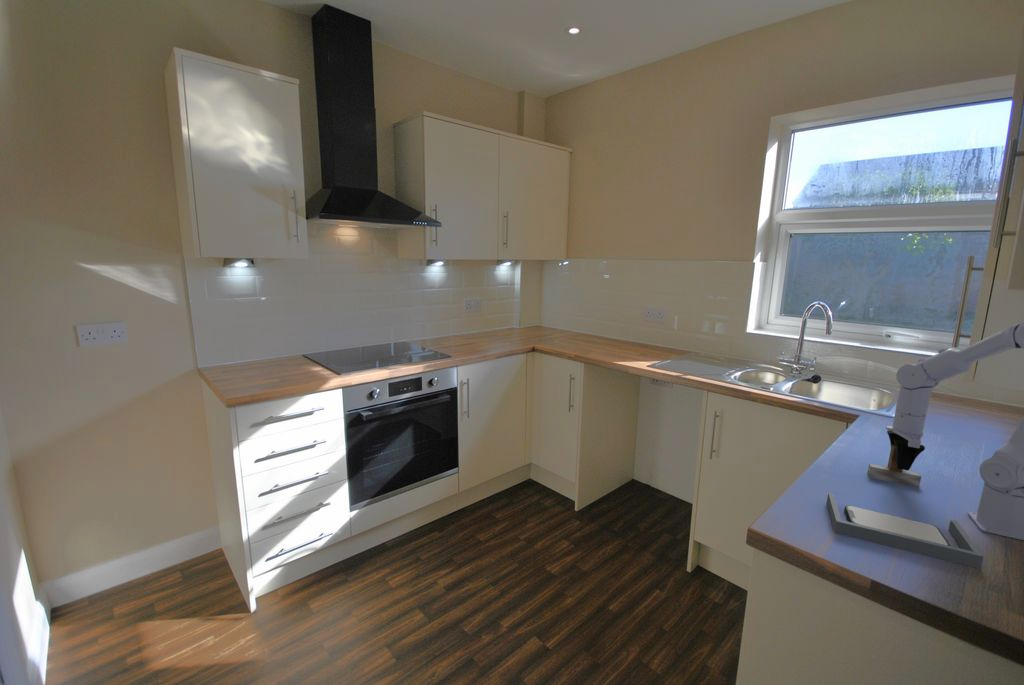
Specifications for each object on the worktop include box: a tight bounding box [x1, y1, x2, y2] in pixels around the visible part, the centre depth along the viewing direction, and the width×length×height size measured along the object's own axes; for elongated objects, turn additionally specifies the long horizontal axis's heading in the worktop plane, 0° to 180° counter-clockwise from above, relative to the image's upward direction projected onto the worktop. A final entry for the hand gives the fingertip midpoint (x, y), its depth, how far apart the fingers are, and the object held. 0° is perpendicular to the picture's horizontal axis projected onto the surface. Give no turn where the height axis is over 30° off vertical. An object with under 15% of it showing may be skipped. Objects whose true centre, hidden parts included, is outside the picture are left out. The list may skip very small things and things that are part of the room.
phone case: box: [843, 505, 951, 546], centre depth 96 cm, size 9×2×16 cm
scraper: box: [866, 445, 922, 488], centre depth 117 cm, size 10×2×9 cm, turn 62°
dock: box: [826, 492, 984, 570], centre depth 95 cm, size 22×13×2 cm, turn 62°
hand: (900, 464), depth 116 cm, fingers open, 5 cm apart
